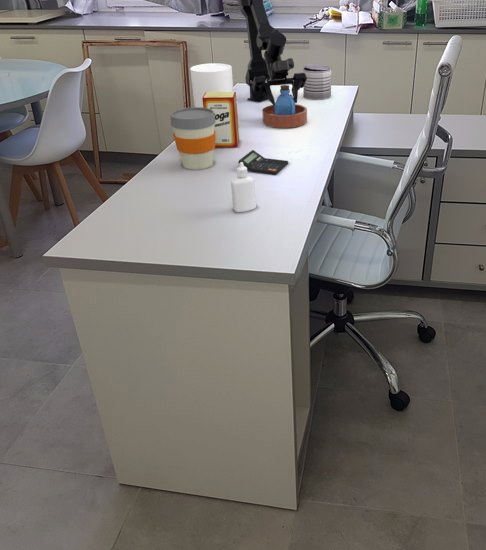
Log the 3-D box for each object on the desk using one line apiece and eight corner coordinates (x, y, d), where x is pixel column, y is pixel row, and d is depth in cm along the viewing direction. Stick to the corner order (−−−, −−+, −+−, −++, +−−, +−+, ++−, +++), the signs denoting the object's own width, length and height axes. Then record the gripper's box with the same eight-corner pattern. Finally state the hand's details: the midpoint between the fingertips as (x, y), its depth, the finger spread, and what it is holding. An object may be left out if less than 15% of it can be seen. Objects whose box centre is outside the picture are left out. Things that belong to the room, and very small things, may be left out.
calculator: (275, 175, 160) (275, 164, 158) (238, 170, 163) (237, 160, 161) (288, 163, 167) (287, 153, 165) (252, 159, 170) (251, 149, 169)
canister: (189, 131, 195) (182, 70, 185) (209, 120, 206) (203, 62, 195) (224, 135, 191) (218, 73, 180) (242, 123, 201) (238, 64, 191)
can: (301, 93, 237) (301, 63, 230) (329, 92, 238) (329, 62, 231) (305, 100, 227) (304, 69, 221) (333, 99, 228) (333, 68, 222)
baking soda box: (239, 140, 186) (235, 90, 177) (237, 147, 180) (233, 95, 172) (210, 141, 186) (205, 91, 177) (207, 147, 180) (202, 96, 172)
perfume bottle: (292, 123, 199) (292, 88, 193) (274, 122, 200) (274, 87, 194) (295, 118, 204) (295, 84, 198) (278, 118, 205) (277, 83, 199)
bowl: (253, 123, 202) (253, 110, 199) (283, 113, 212) (282, 101, 209) (287, 131, 193) (286, 118, 191) (315, 120, 203) (315, 108, 201)
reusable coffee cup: (226, 158, 171) (222, 108, 163) (207, 173, 161) (201, 121, 153) (189, 154, 175) (183, 105, 167) (168, 169, 165) (161, 117, 157)
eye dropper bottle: (234, 205, 142) (230, 159, 136) (256, 205, 142) (253, 159, 136) (232, 212, 139) (228, 166, 132) (255, 212, 139) (252, 165, 132)
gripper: (252, 52, 190) (263, 93, 187) (304, 48, 196) (316, 87, 192) (247, 72, 201) (258, 111, 198) (297, 67, 206) (308, 105, 203)
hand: (285, 103), depth 197 cm, fingers closed on perfume bottle, 8 cm apart
